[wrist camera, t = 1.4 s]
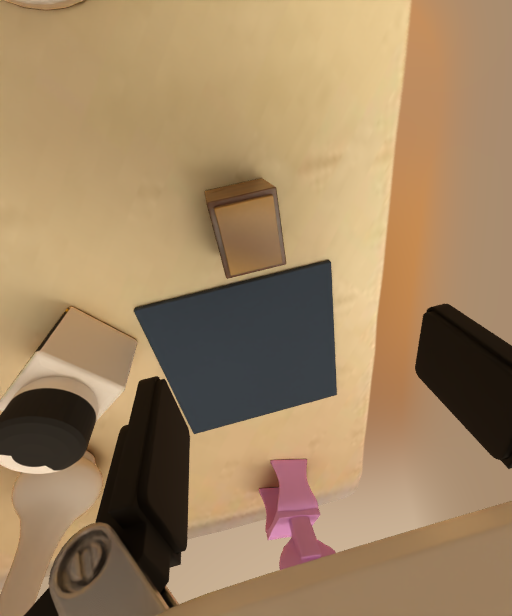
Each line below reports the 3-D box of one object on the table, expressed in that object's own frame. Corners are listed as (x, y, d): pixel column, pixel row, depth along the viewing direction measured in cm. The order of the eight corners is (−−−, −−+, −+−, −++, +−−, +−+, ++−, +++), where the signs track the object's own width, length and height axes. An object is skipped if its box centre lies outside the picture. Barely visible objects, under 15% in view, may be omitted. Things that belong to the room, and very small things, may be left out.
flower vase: (41, 507, 42) (-114, 889, 21) (-11, 422, 32) (-392, 961, 11) (137, 493, 44) (85, 822, 23) (114, 410, 35) (-9, 835, 14)
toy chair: (252, 491, 50) (271, 613, 37) (264, 460, 46) (291, 585, 33) (296, 489, 52) (329, 603, 39) (312, 458, 48) (354, 575, 35)
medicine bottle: (70, 303, 27) (-3, 404, 17) (139, 340, 31) (112, 442, 20) (34, 353, 29) (-52, 470, 19) (102, 382, 32) (61, 495, 22)
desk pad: (134, 307, 29) (133, 310, 28) (329, 259, 30) (331, 261, 29) (193, 430, 39) (193, 434, 39) (335, 391, 40) (337, 394, 40)
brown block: (204, 190, 24) (206, 204, 20) (262, 177, 25) (278, 187, 20) (221, 256, 28) (227, 281, 23) (272, 244, 28) (288, 266, 23)
